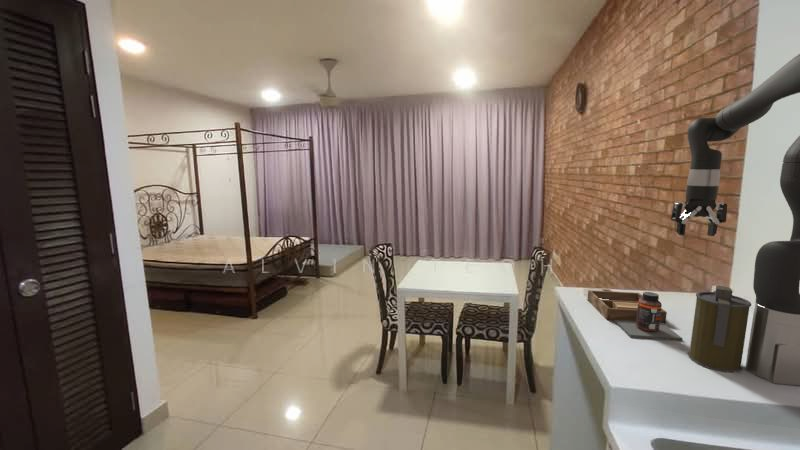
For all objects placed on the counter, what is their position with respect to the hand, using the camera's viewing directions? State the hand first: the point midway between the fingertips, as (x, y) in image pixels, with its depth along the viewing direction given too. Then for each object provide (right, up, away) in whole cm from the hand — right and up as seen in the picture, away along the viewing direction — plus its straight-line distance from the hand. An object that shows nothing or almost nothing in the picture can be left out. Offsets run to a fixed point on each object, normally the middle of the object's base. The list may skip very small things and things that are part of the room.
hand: (695, 235), depth 111 cm
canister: (-12, -33, -20) cm, 40 cm away
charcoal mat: (-17, -30, -2) cm, 34 cm away
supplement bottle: (-17, -29, -2) cm, 34 cm away
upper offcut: (-15, -26, +8) cm, 32 cm away
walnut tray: (-15, -27, +14) cm, 34 cm away
